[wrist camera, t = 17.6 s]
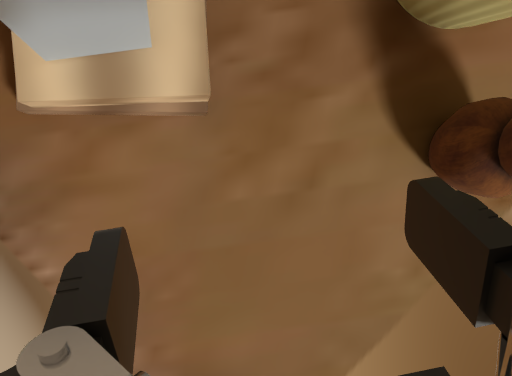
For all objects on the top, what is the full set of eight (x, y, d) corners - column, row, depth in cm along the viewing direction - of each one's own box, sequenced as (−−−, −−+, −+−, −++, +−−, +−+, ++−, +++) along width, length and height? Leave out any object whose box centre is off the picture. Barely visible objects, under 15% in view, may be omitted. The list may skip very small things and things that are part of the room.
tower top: (196, -68, 30) (198, -93, 27) (207, 101, 31) (210, 94, 28) (17, -72, 29) (-1, -98, 26) (33, 108, 29) (17, 101, 26)
